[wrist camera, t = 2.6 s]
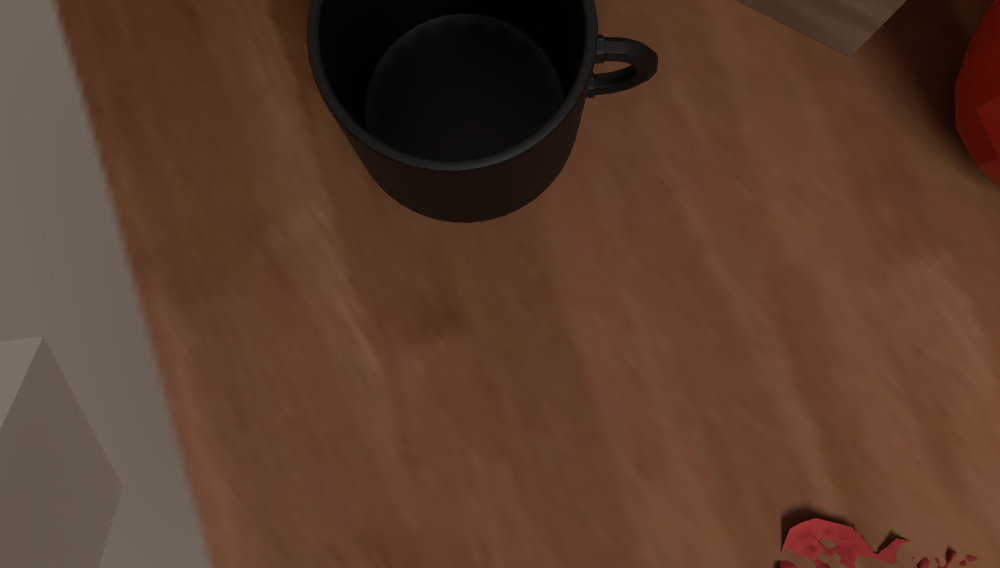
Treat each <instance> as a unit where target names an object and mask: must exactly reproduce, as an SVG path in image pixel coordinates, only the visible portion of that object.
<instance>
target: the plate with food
mask: <svg viewBox="0 0 1000 568" xmlns="http://www.w3.org/2000/svg"><path fill="white" fill-rule="evenodd" d="M820 539H829V540H832V541H833V542H834V543H835V544H836V547H833V548H830V549H827V548H825V547H824V546H823V545H822V544H821V543H820V541H819V540H820ZM906 542H910V541H907V540H902V539H898V538H896V539H895V540H894V541H893V542H891V544H890V545H889V546H887V547H886V548H885V549H883V550H881V551H880V553H879V554H875V553H873V550H872V549H870V547H869V545H868V544H867V542H866V541H865V540H864V539H862V538H861V533H859V532H858V531H854V530H853V528H852V527H849V526H846V525H842V524H838V523H834V522H830V521H825V520H821V519H817V518H816V519H812V520H810V521H804V522H802V523H799V524H798V525H796V526H794V527H792V528H790V530H789V532H788V535H787V537H786V540H785V543H784V545H783V549H782V551H784V550H785V549H788V550H790V551H792V552H794V553H796V554H797V555H798V556H804V557H809V558H810V559H812V560H813V561H814V562H815V565H816V568H830V566H829V565H827V564H824V563H822V562H821V561H819V560H818V558H817V555H818V553H819V552H823V553H824V554H826V555H828V556H830V557H831V556H833V552H835V553H838V554H839V555H840V557H841V560H840V563H842V564H844V565H845V566H847V567H848V568H855V565H854V563H855V562H856V557H857V556H860V555H862V556H867V557H871V558H875V559H878V560H881V561H885V562H887V563H889V564H892V565H893V564H895V563H896V552H897V550H898V548H899V547H900V546H901V545H902V544H903V543H906ZM955 555H956V553H954V552H950V551H948V554H947V562H946V565H945V566H944V567H941V566H940V565H938V566H937V568H947V566H948V564H949V563H951V561H952V560H953V558H954V557H955ZM910 556H911V555H910ZM910 556H909V557H910ZM966 558H967V560H968V561H975V560H977V559H978V558H975V557H971V556H966ZM913 559H915V558H914V557H913ZM935 560H936V562H937V563H938V564H939V559H938V558H935ZM959 565H961V566H965V565H966V561H965V560H963V561H961V562H960V563H959ZM928 566H929V560H928V559H927V558H926V557H925V558H923V559H922V560H921V561H920V562H919V563H918V564H917V568H928ZM796 567H797V566H796V565H794V564H793V563H791V562H790V561H781V560H780V568H796Z"/></svg>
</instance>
